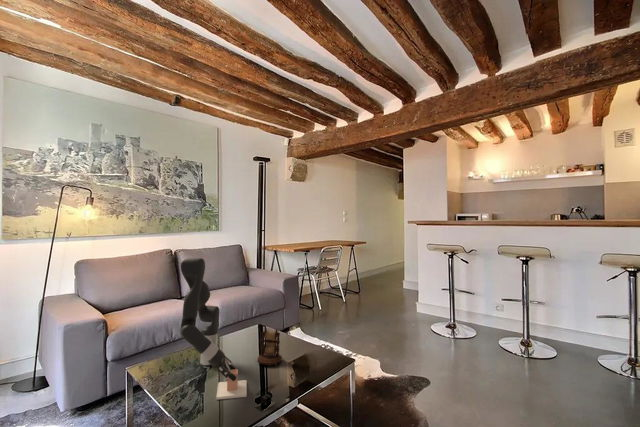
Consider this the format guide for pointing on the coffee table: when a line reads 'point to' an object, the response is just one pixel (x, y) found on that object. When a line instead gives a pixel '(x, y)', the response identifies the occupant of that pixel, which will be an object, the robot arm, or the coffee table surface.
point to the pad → (225, 394)
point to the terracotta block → (232, 384)
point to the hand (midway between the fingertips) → (235, 375)
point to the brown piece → (270, 348)
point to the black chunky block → (264, 402)
